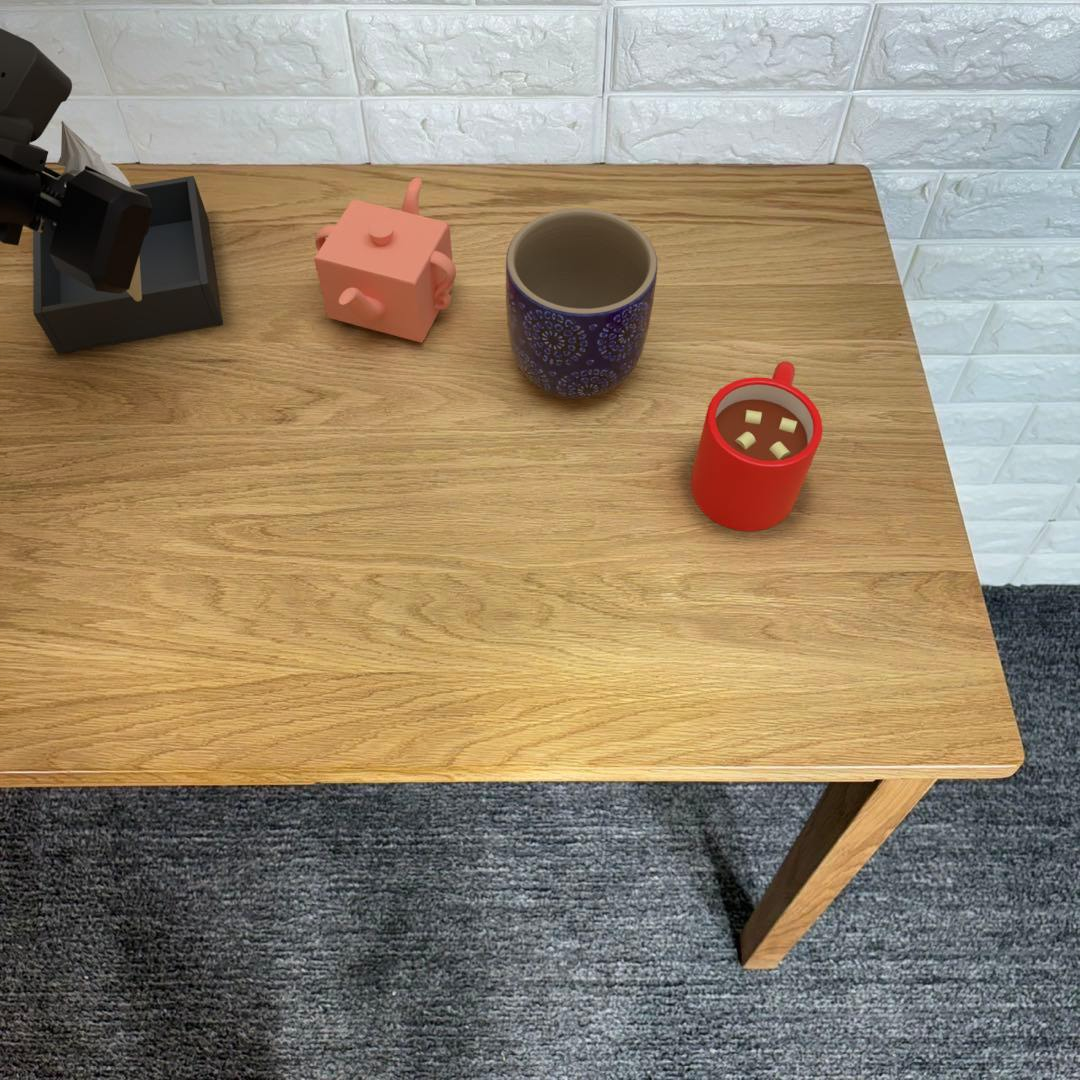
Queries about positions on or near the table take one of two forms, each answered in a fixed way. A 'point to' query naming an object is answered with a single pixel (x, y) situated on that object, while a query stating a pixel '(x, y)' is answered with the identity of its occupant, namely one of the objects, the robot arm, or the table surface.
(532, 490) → the table surface
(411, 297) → the teapot
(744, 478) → the mug
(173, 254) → the storage bin
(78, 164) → the ice cream cone
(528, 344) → the planter
